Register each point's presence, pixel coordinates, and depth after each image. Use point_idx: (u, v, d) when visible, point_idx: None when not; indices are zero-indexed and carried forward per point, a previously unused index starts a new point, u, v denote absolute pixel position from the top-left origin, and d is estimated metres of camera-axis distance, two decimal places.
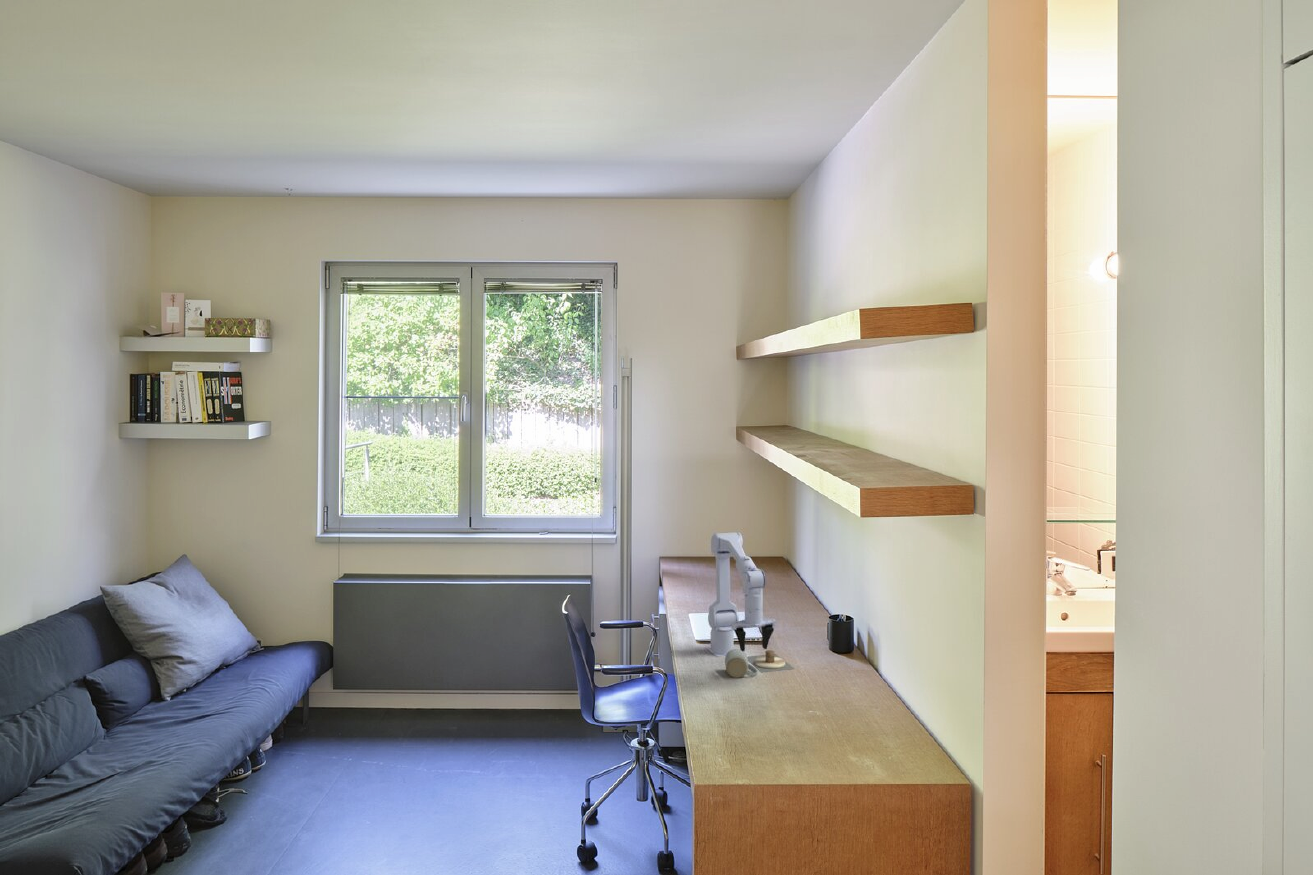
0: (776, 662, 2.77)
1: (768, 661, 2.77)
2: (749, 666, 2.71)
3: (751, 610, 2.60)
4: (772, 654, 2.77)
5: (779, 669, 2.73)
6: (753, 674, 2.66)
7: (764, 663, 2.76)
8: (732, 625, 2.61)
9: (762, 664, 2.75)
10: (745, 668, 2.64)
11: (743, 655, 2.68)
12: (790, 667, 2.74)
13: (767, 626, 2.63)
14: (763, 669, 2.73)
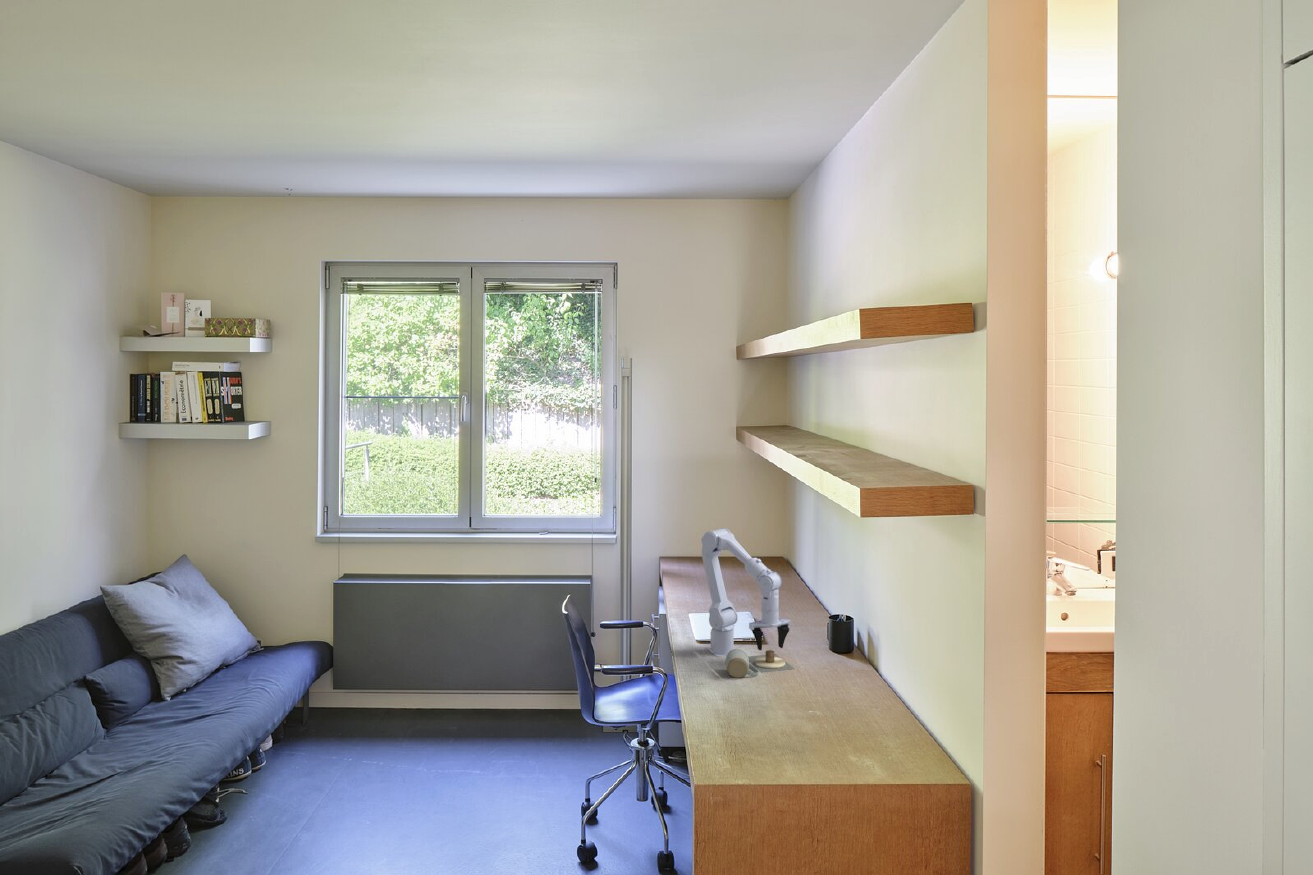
0: (776, 662, 2.77)
1: (768, 661, 2.77)
2: (750, 666, 2.71)
3: (768, 611, 2.74)
4: (772, 654, 2.77)
5: (779, 669, 2.73)
6: (754, 674, 2.66)
7: (764, 663, 2.76)
8: (750, 625, 2.75)
9: (762, 664, 2.75)
10: (746, 668, 2.64)
11: (744, 655, 2.68)
12: (790, 667, 2.74)
13: (783, 626, 2.78)
14: (763, 669, 2.73)
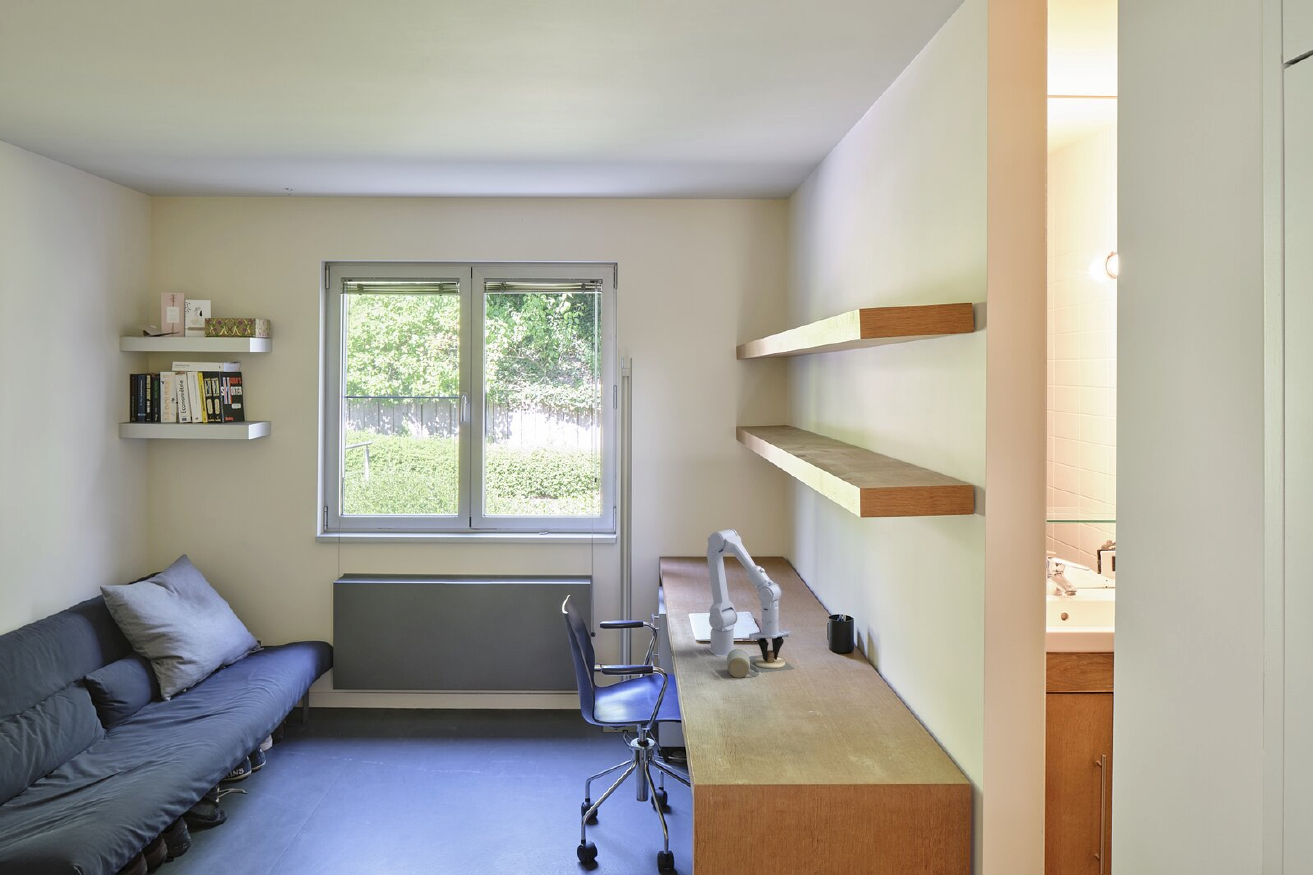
0: (776, 662, 2.77)
1: (768, 661, 2.77)
2: (751, 666, 2.71)
3: (768, 622, 2.75)
4: (772, 654, 2.77)
5: (779, 669, 2.73)
6: (755, 674, 2.66)
7: (764, 663, 2.76)
8: (750, 636, 2.76)
9: (762, 664, 2.75)
10: (747, 668, 2.64)
11: (745, 655, 2.68)
12: (790, 667, 2.74)
13: None
14: (763, 669, 2.73)
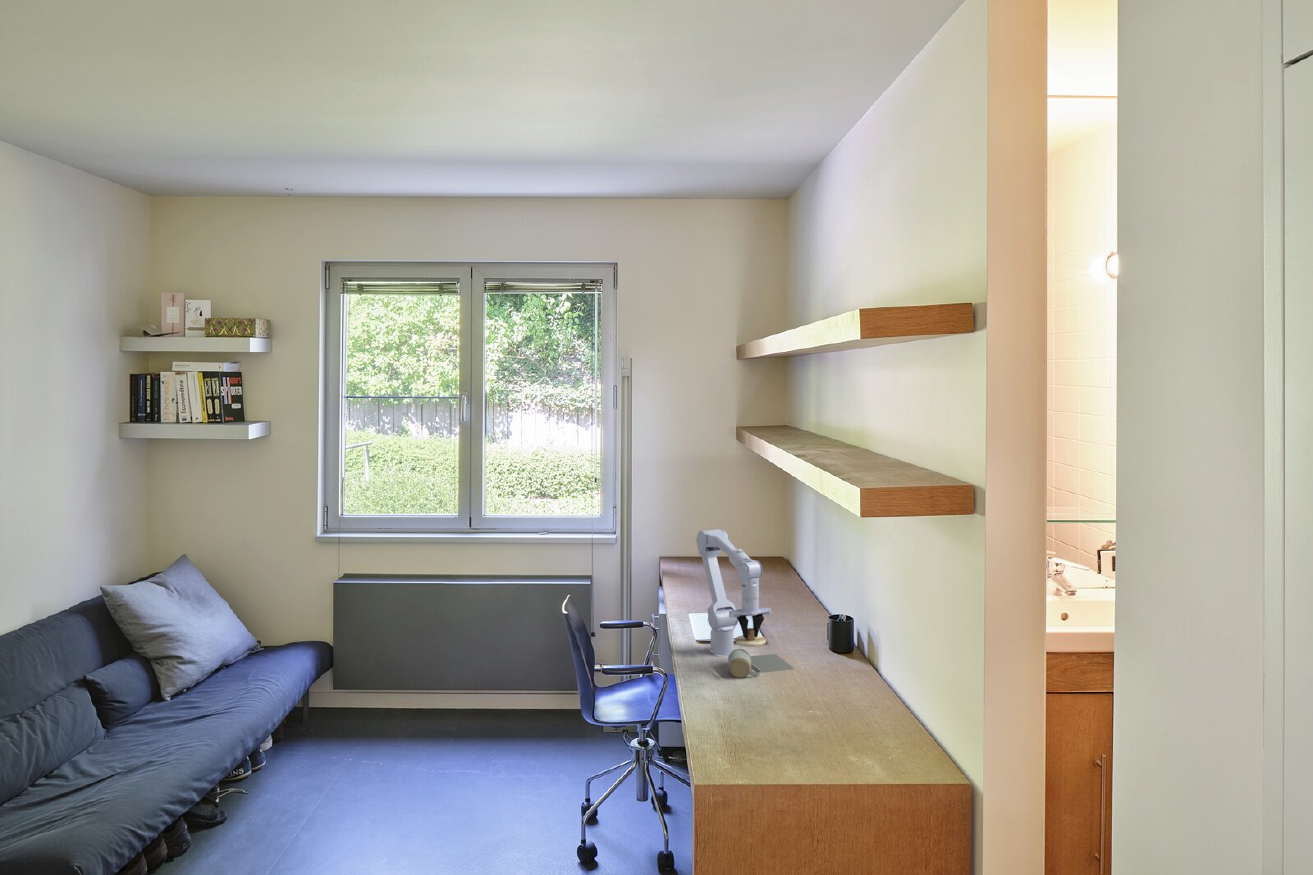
0: (756, 640, 2.74)
1: (748, 639, 2.74)
2: (752, 666, 2.71)
3: (748, 599, 2.72)
4: (752, 632, 2.74)
5: (779, 669, 2.73)
6: (756, 674, 2.66)
7: (744, 641, 2.73)
8: (730, 614, 2.73)
9: (742, 642, 2.72)
10: (748, 668, 2.64)
11: (746, 655, 2.68)
12: (790, 667, 2.74)
13: None
14: (763, 669, 2.73)
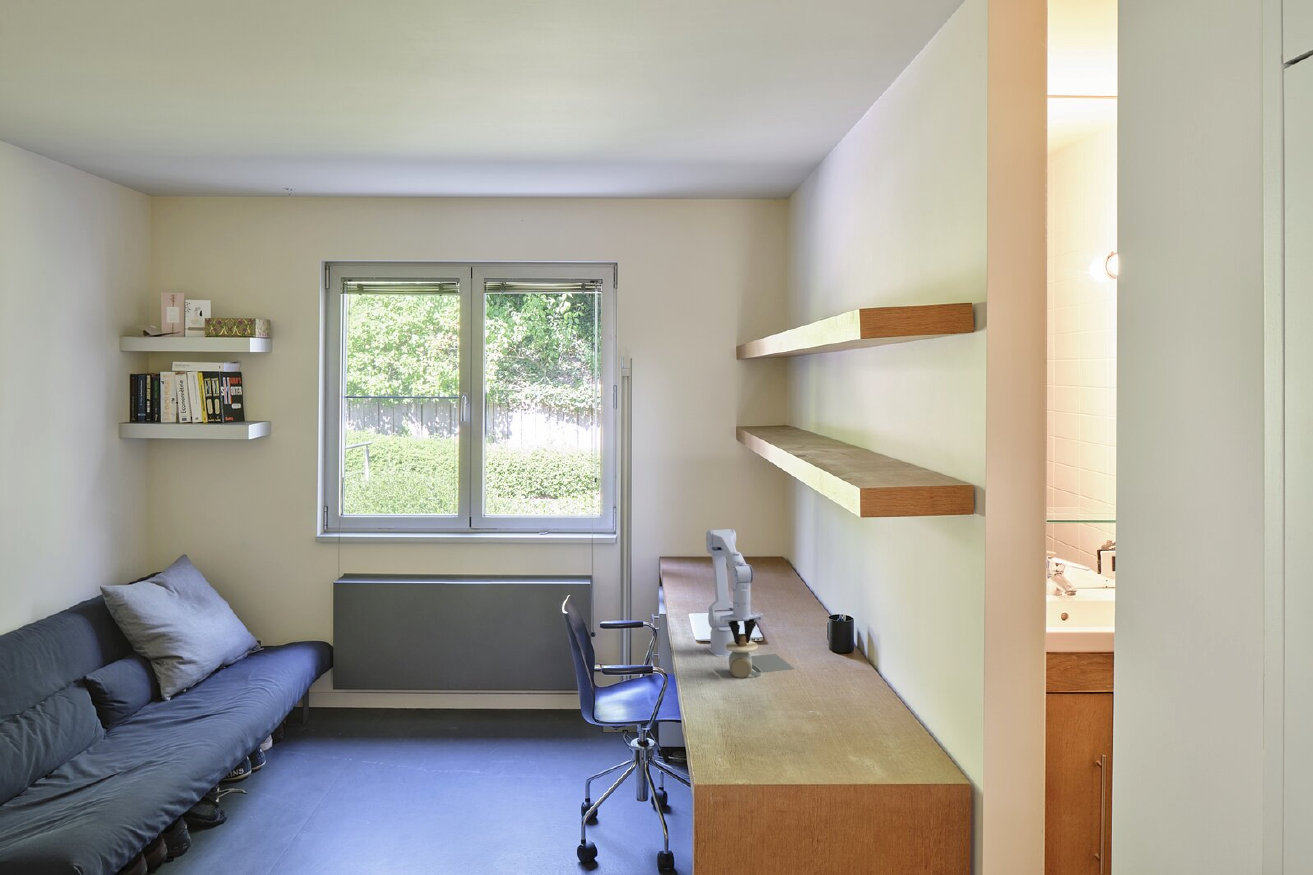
0: (748, 646, 2.68)
1: (740, 645, 2.68)
2: (753, 666, 2.71)
3: (739, 604, 2.66)
4: (744, 637, 2.68)
5: (779, 669, 2.73)
6: (757, 674, 2.66)
7: (736, 647, 2.67)
8: (721, 619, 2.67)
9: (733, 648, 2.66)
10: (749, 668, 2.64)
11: (747, 655, 2.68)
12: (790, 667, 2.74)
13: None
14: (763, 669, 2.73)
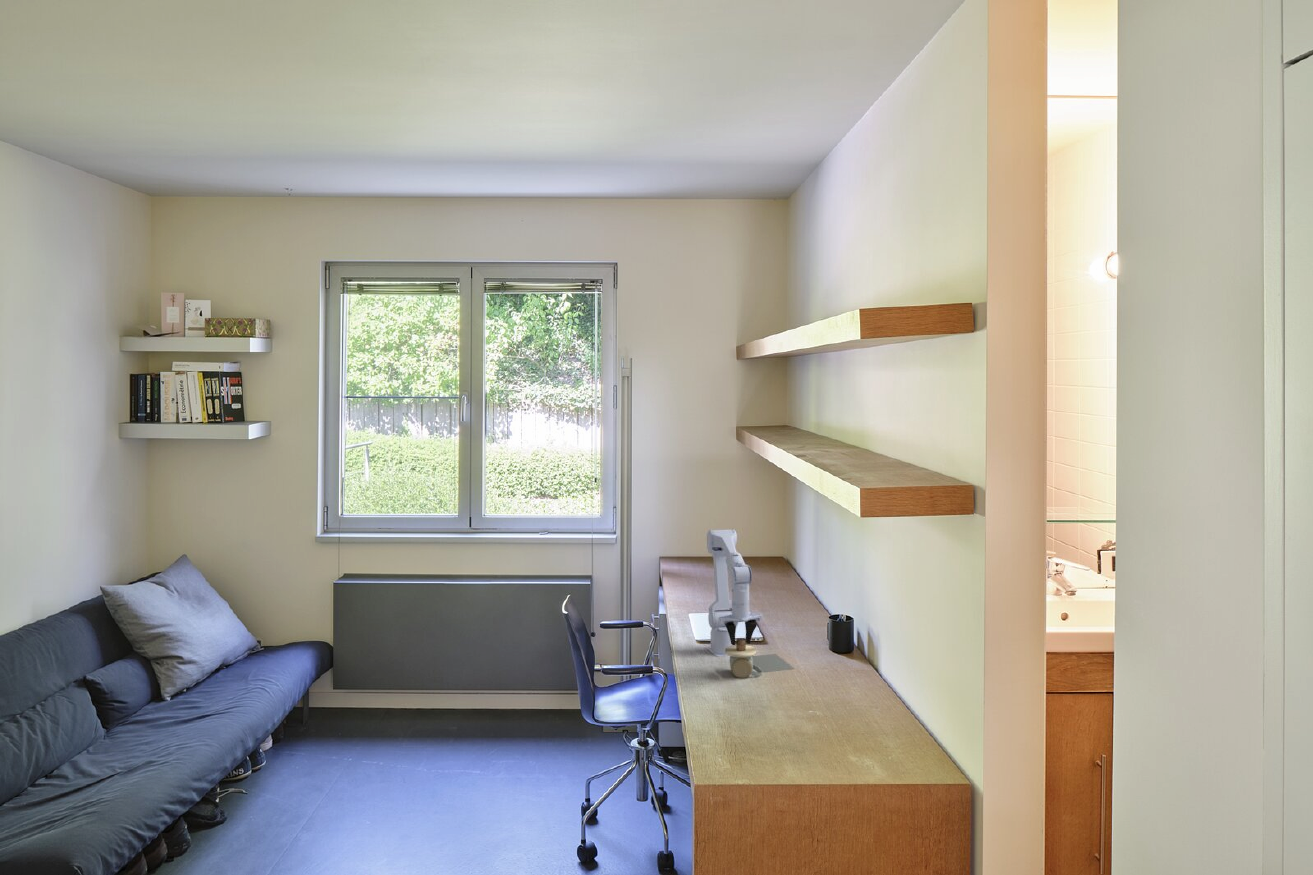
0: (747, 650, 2.67)
1: (739, 649, 2.67)
2: (754, 666, 2.71)
3: (738, 605, 2.65)
4: (743, 642, 2.67)
5: (779, 669, 2.73)
6: (758, 674, 2.66)
7: (735, 651, 2.66)
8: (719, 620, 2.66)
9: (732, 652, 2.65)
10: (750, 668, 2.64)
11: None
12: (790, 667, 2.74)
13: (754, 621, 2.68)
14: (763, 669, 2.73)
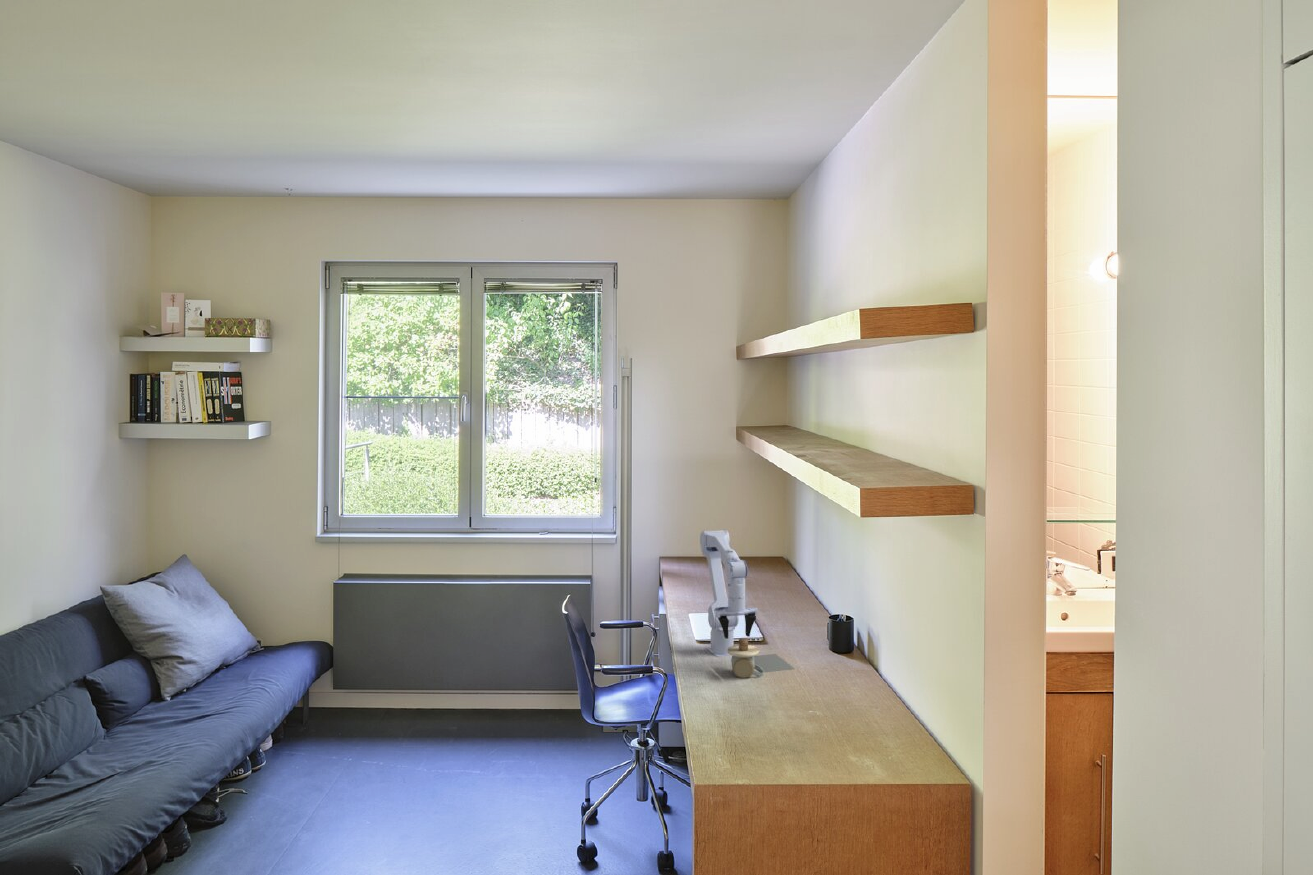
0: (750, 650, 2.67)
1: (741, 649, 2.67)
2: (755, 666, 2.71)
3: (734, 599, 2.72)
4: (745, 642, 2.67)
5: (779, 669, 2.73)
6: (759, 674, 2.66)
7: (737, 651, 2.67)
8: (716, 613, 2.73)
9: (734, 652, 2.66)
10: (752, 668, 2.64)
11: None
12: (790, 667, 2.74)
13: (750, 614, 2.76)
14: (763, 669, 2.73)
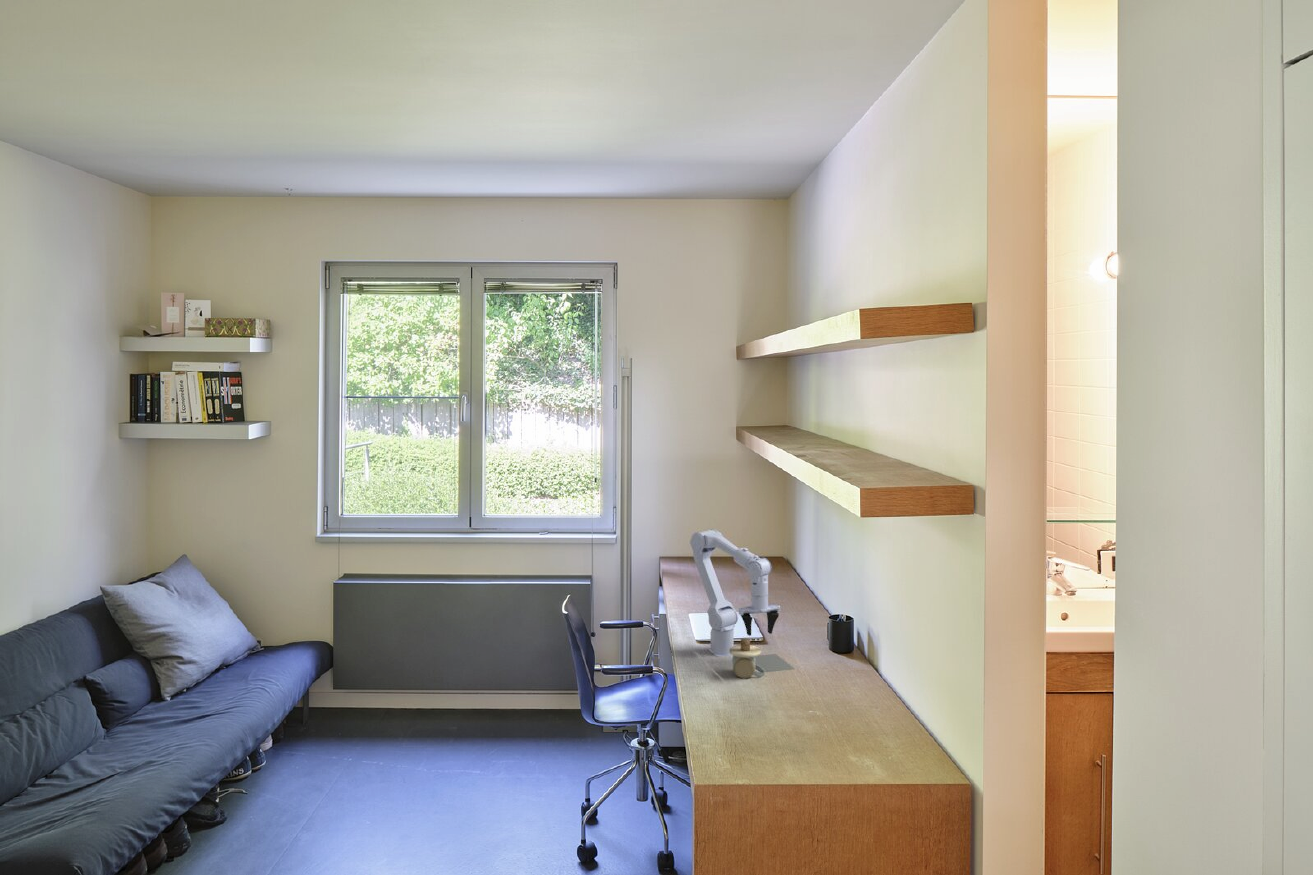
0: (752, 650, 2.67)
1: (743, 649, 2.67)
2: (756, 666, 2.70)
3: (757, 596, 2.75)
4: (747, 642, 2.67)
5: (779, 669, 2.73)
6: (760, 674, 2.65)
7: (739, 651, 2.66)
8: (739, 611, 2.76)
9: (736, 652, 2.65)
10: (752, 668, 2.64)
11: None
12: (790, 667, 2.74)
13: (772, 612, 2.79)
14: None
